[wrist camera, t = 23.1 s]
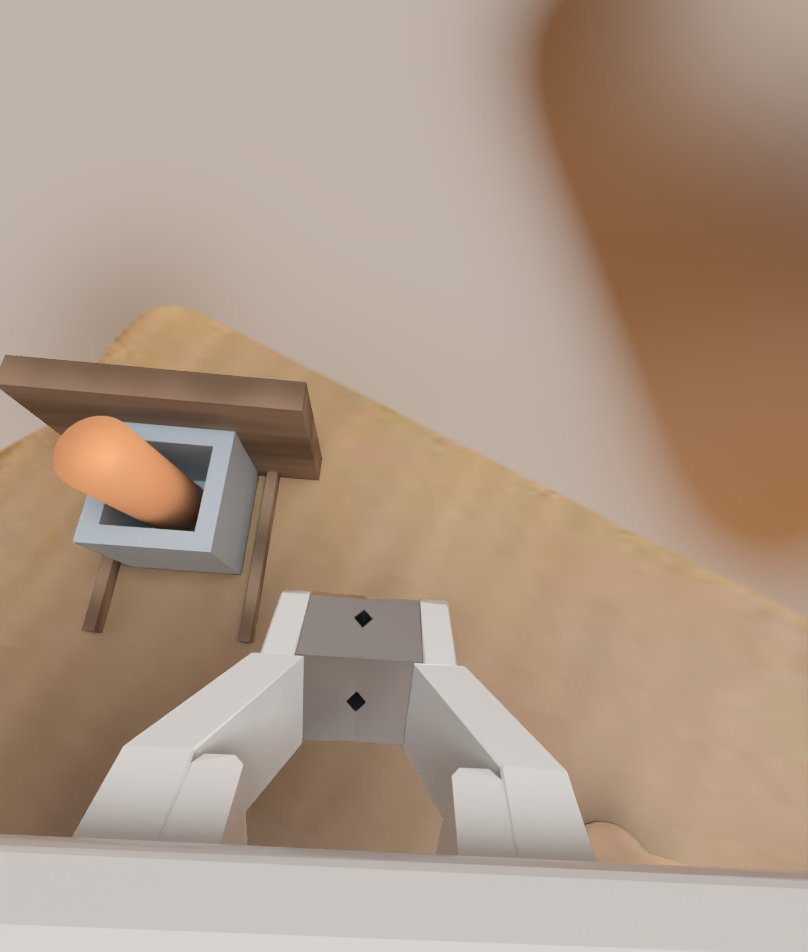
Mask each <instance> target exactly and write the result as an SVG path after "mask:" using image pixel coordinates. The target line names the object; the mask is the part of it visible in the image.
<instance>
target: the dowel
mask: <svg viewBox="0 0 808 952" xmlns="http://www.w3.org/2000/svg"><path fill="white" fill-rule="evenodd" d="M53 466H54V470H55V472H56V474H57V475H58V477H59V478H60V479H61V480H62V481H63V482H64V483H65V484H67V485H69V486H71V487H73V488H75V489H77V490H79V491H81V492H83V493H85V494H87V495H89V496H91V497H93V498H95V499H97V500H99V501H101V502H103V503H105V504H107V505H109V506H111V507H113V508H115V509H117V510H119V511H121V512H123V513H125V514H127V515H129V516H131V517H133V518H135V519H138V520H140V521H142V522H144V523H146V524H148V525H150V526H152V527H154V528H156V529H167V530H180V531H193V532H195V528H196V523H197V519H198V514H199V510H200V505H201V500H202V496H203V491H204V490H203V489H202V488H201V487H200V486H198V485H197V484H196V483H195V482H194V481H192V480H191V479H190V478H189V477H188V476H186V475H185V474H184V473H183V472H182V471H180V470H179V469H178V468H177V467H176V466H174V465H173V464H172V463H171V462H170V461H169V460H167V459H166V458H165V457H164V456H163V455H161V454H160V453H159V452H158V451H157V450H155V449H154V448H153V447H152V446H151V445H149V444H148V443H147V442H146V441H145V440H143V439H142V438H141V437H140V436H139V435H137V434H136V433H135V432H134V431H133V430H132V429H130V428H129V427H128V426H127V425H126V424H124V423H123V422H122V421H120V420H118V419H116V418H113V417H109V416H93V417H88V418H85V419H82V420H80V421H78V422H76V423H75V424H73V425H72V426H70V427H69V428H68V429H67V430H66V431H65V432H64V433H63V434H62V435H61V437H60V438H59V439H58V441H57V443H56V445H55V448H54V452H53Z"/></svg>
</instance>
